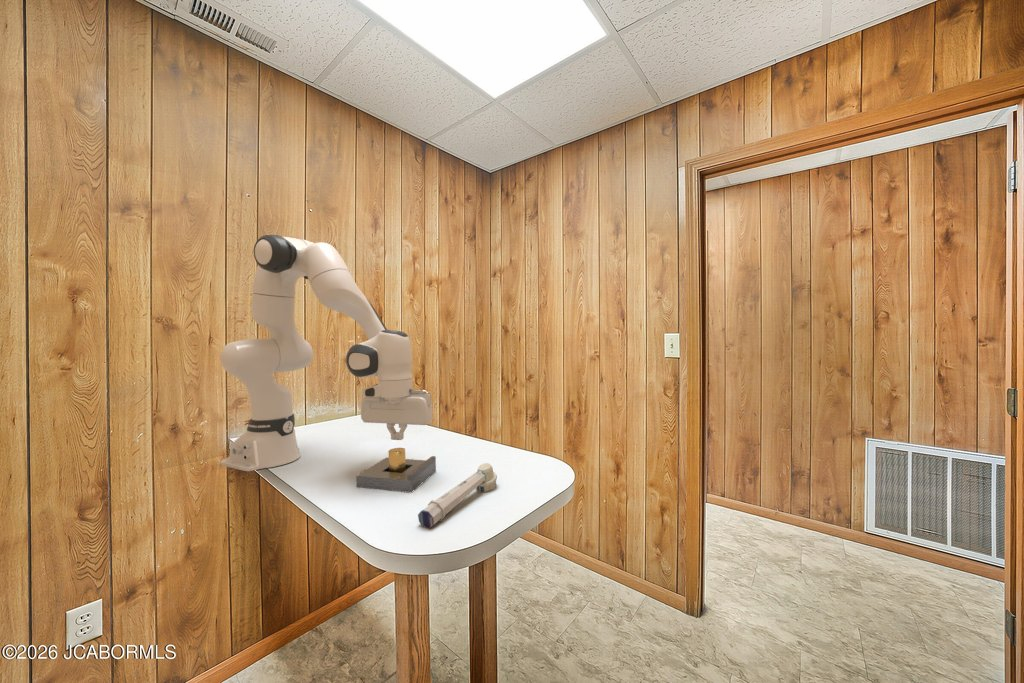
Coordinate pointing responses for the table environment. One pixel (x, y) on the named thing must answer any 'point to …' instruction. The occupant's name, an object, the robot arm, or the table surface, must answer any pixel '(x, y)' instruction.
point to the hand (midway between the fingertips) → (397, 439)
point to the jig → (397, 475)
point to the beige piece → (458, 495)
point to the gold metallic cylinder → (397, 460)
